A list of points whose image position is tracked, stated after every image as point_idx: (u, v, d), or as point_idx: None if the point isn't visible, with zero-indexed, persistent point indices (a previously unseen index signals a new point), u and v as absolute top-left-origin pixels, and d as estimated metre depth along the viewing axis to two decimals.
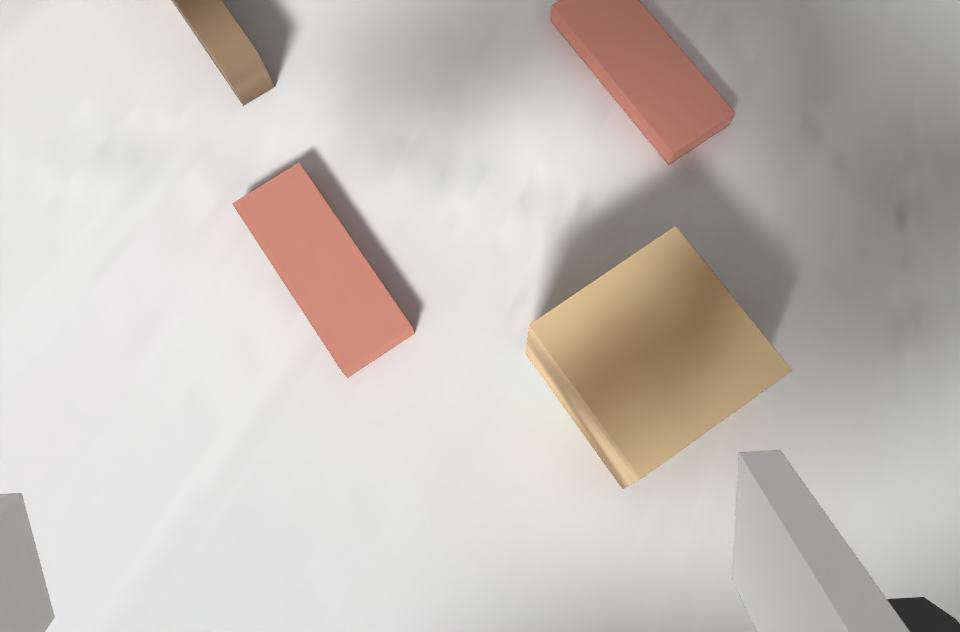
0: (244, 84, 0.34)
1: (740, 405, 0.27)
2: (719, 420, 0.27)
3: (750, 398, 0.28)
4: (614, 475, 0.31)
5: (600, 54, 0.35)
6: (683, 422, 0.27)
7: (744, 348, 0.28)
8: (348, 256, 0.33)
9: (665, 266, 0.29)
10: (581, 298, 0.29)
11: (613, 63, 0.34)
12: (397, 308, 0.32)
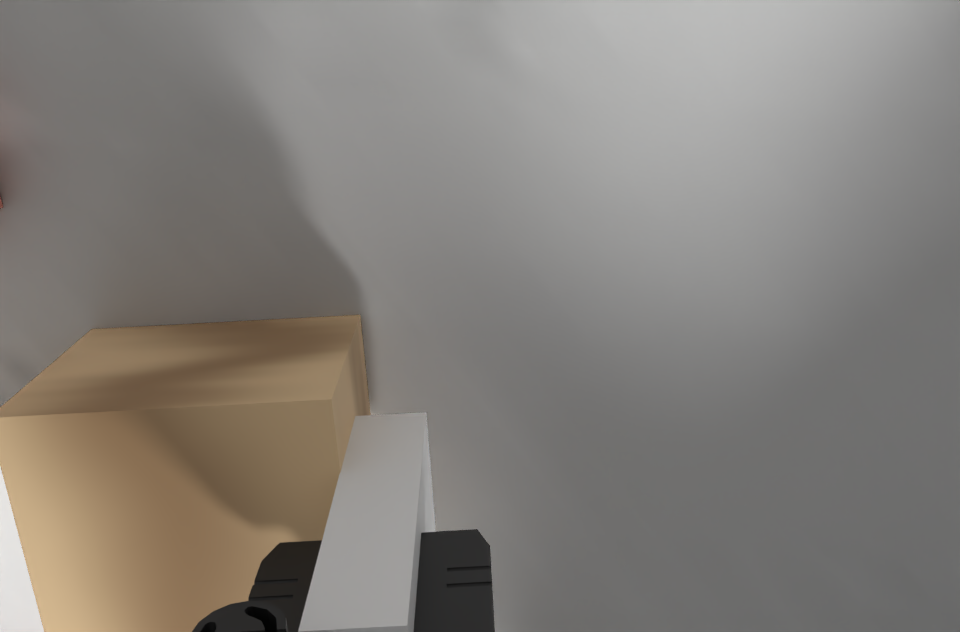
0: None
1: None
2: None
3: None
4: None
5: None
6: None
7: (255, 444, 0.15)
8: None
9: (56, 473, 0.16)
10: (52, 610, 0.17)
11: None
12: None
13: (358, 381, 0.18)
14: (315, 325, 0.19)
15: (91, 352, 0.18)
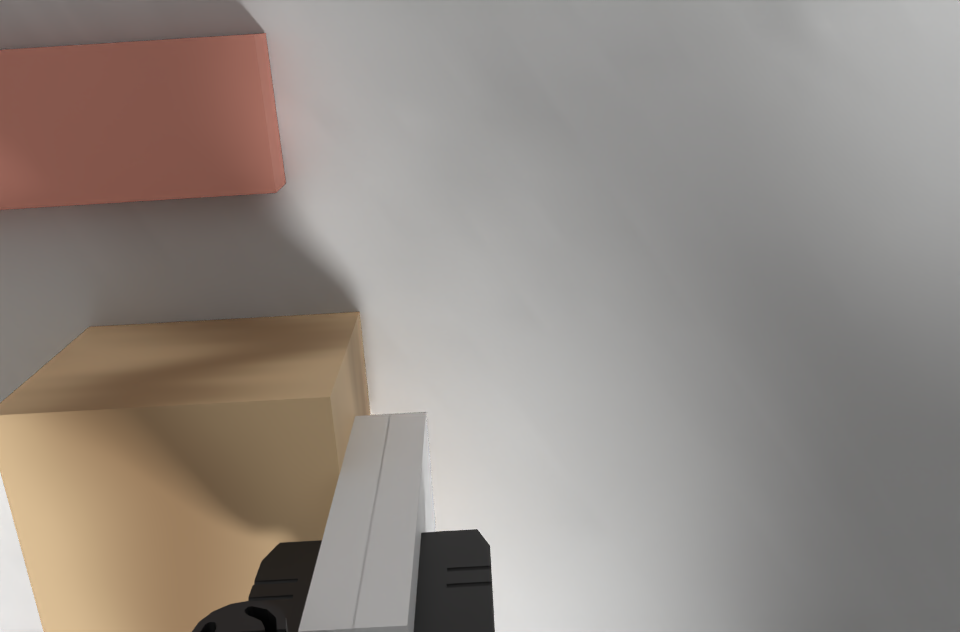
0: None
1: None
2: None
3: (337, 480, 0.16)
4: None
5: (19, 194, 0.17)
6: None
7: (253, 441, 0.15)
8: None
9: (54, 471, 0.15)
10: (51, 608, 0.17)
11: (48, 184, 0.17)
12: None
13: (357, 378, 0.18)
14: (314, 321, 0.19)
15: (89, 349, 0.18)
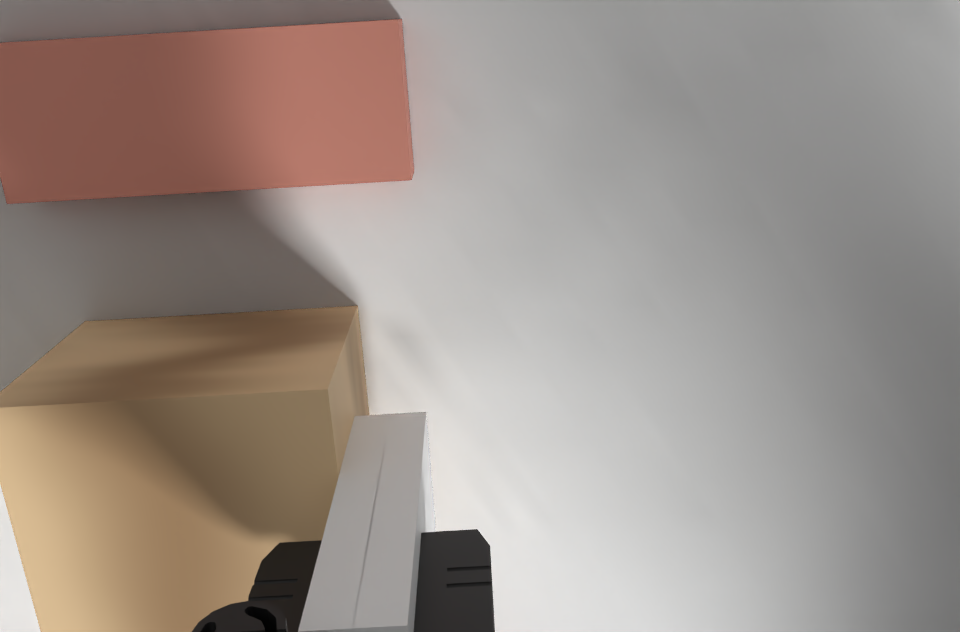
0: None
1: None
2: None
3: (335, 473, 0.16)
4: None
5: (152, 181, 0.17)
6: None
7: (251, 434, 0.15)
8: None
9: (50, 465, 0.15)
10: (47, 602, 0.16)
11: (182, 170, 0.17)
12: None
13: (356, 372, 0.18)
14: (312, 315, 0.19)
15: (86, 343, 0.18)
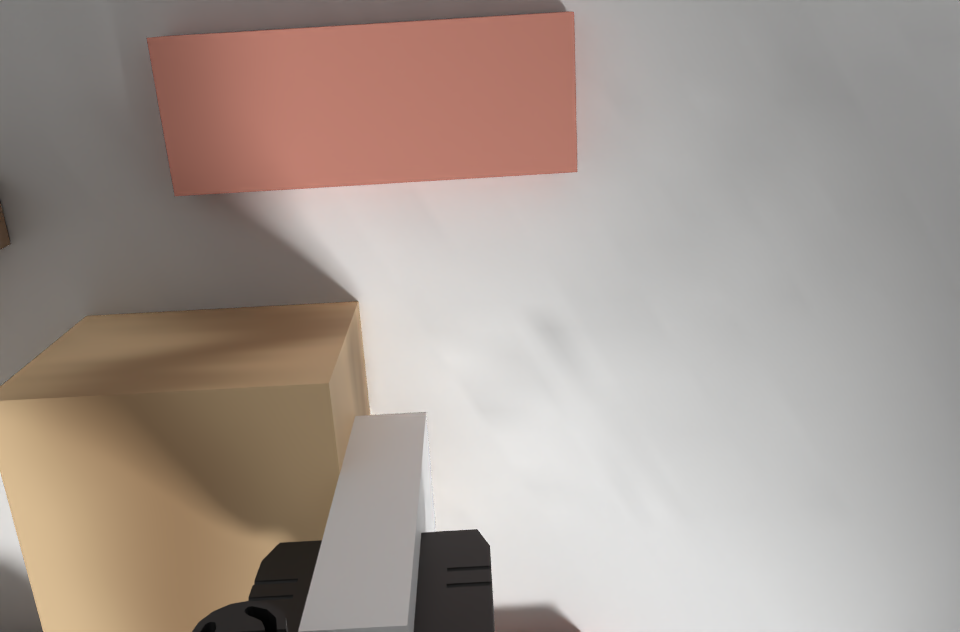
0: None
1: None
2: None
3: (336, 467, 0.16)
4: None
5: (320, 173, 0.17)
6: None
7: (252, 428, 0.15)
8: None
9: (51, 458, 0.15)
10: (47, 596, 0.16)
11: (351, 162, 0.17)
12: None
13: (356, 367, 0.18)
14: (313, 310, 0.19)
15: (87, 337, 0.18)
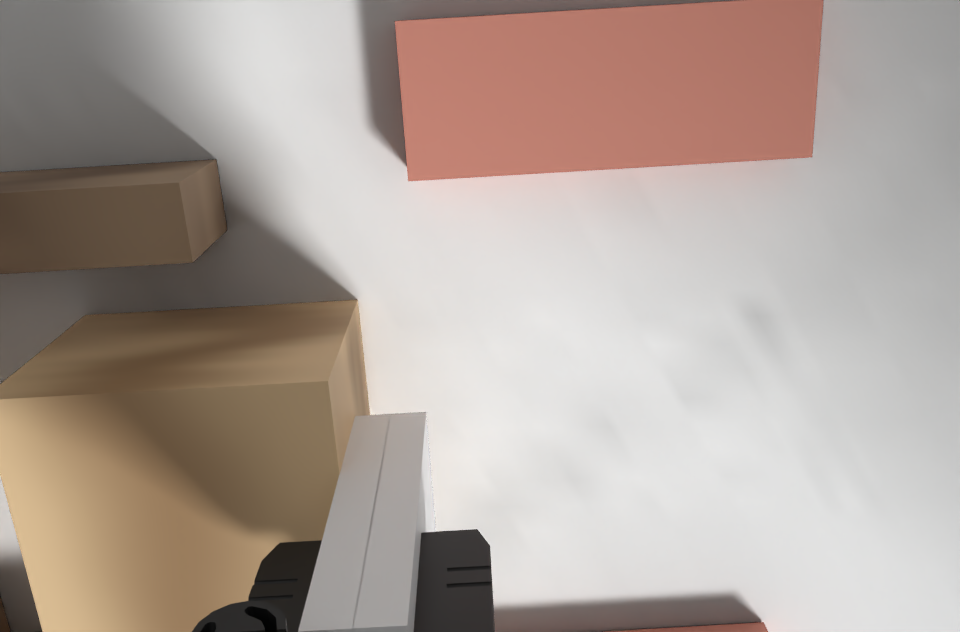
0: None
1: None
2: None
3: (335, 465, 0.16)
4: None
5: (556, 158, 0.17)
6: None
7: (251, 426, 0.15)
8: None
9: (50, 457, 0.15)
10: (46, 595, 0.16)
11: (587, 147, 0.17)
12: None
13: (356, 365, 0.18)
14: (312, 309, 0.19)
15: (86, 336, 0.18)
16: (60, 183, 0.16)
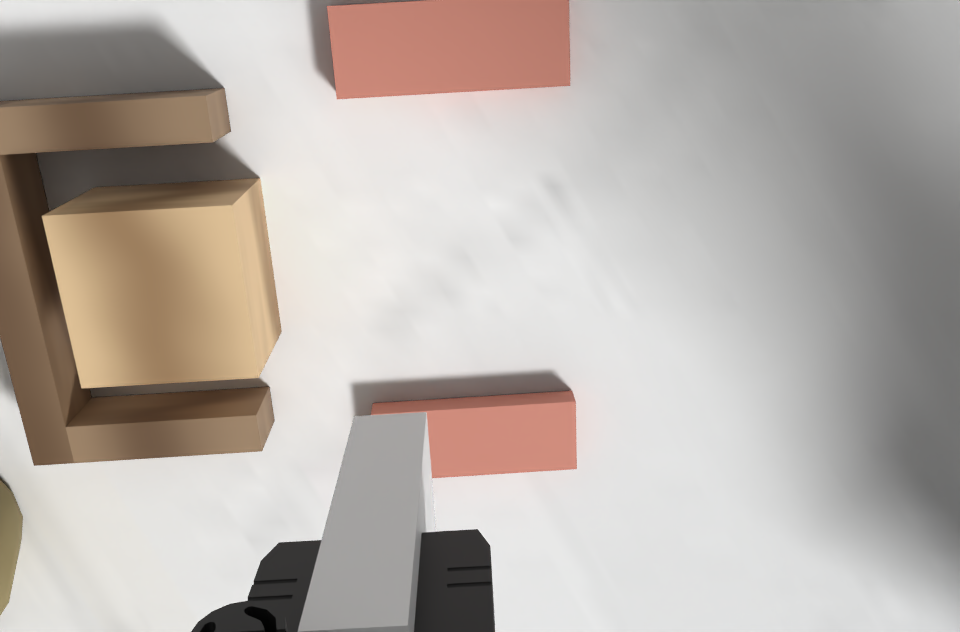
0: (267, 424, 0.34)
1: (240, 267, 0.28)
2: (243, 292, 0.29)
3: (238, 255, 0.28)
4: None
5: (422, 85, 0.30)
6: (230, 320, 0.29)
7: (191, 231, 0.28)
8: (483, 418, 0.34)
9: (79, 249, 0.28)
10: (77, 334, 0.29)
11: (439, 79, 0.30)
12: (553, 404, 0.34)
13: (257, 213, 0.31)
14: (232, 181, 0.31)
15: (96, 194, 0.30)
16: (137, 97, 0.29)
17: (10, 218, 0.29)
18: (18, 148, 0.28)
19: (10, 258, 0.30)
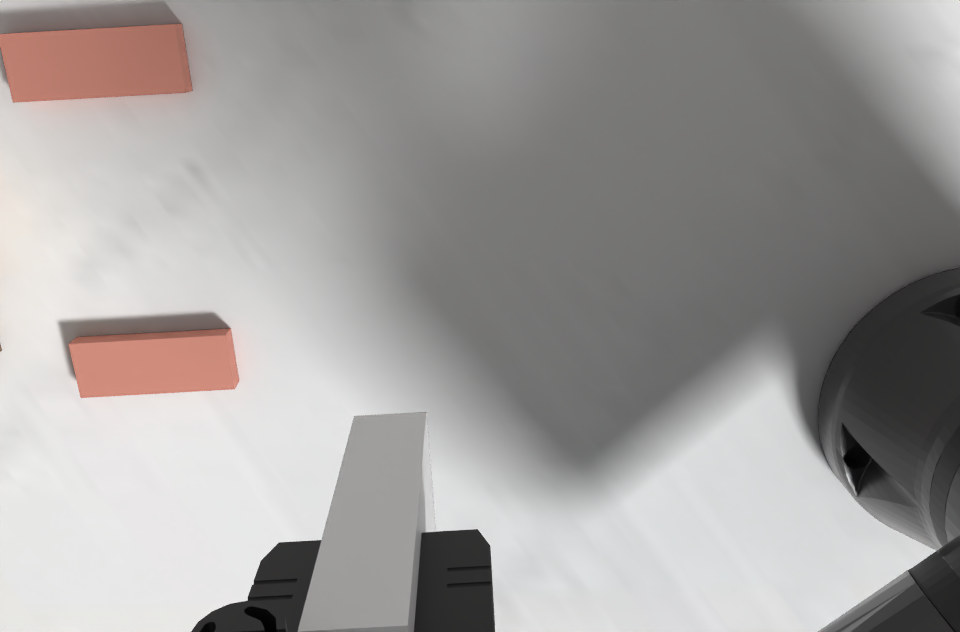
0: None
1: None
2: None
3: None
4: None
5: (75, 92, 0.40)
6: None
7: None
8: (155, 347, 0.44)
9: None
10: None
11: (88, 87, 0.40)
12: (208, 337, 0.44)
13: None
14: None
15: None
16: None
17: None
18: None
19: None
